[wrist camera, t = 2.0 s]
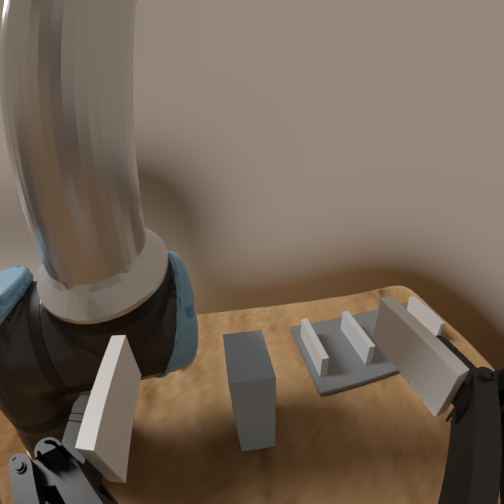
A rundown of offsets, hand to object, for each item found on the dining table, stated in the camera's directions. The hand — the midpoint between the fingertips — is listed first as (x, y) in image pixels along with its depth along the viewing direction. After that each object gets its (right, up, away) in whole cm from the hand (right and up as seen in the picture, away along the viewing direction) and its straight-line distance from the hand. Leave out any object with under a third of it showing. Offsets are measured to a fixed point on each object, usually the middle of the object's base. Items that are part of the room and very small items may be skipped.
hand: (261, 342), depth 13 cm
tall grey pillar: (0, -17, +17) cm, 24 cm away
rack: (+20, -11, +29) cm, 37 cm away
